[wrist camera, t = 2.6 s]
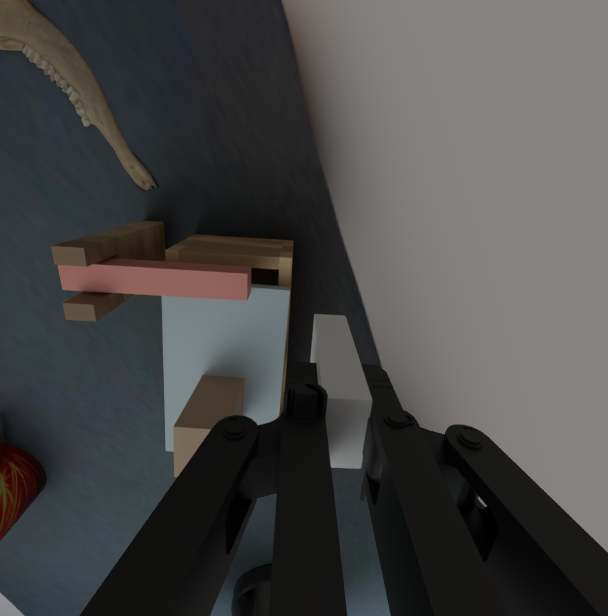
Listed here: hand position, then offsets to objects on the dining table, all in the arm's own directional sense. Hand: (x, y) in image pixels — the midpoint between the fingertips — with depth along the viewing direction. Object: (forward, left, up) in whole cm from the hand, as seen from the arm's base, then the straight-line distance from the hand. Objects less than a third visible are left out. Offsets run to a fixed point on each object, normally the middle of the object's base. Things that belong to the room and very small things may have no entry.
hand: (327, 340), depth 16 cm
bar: (0, +12, -10) cm, 15 cm away
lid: (-9, +7, -11) cm, 16 cm away
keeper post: (0, +16, -20) cm, 25 cm away
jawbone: (+11, +25, -20) cm, 34 cm away
